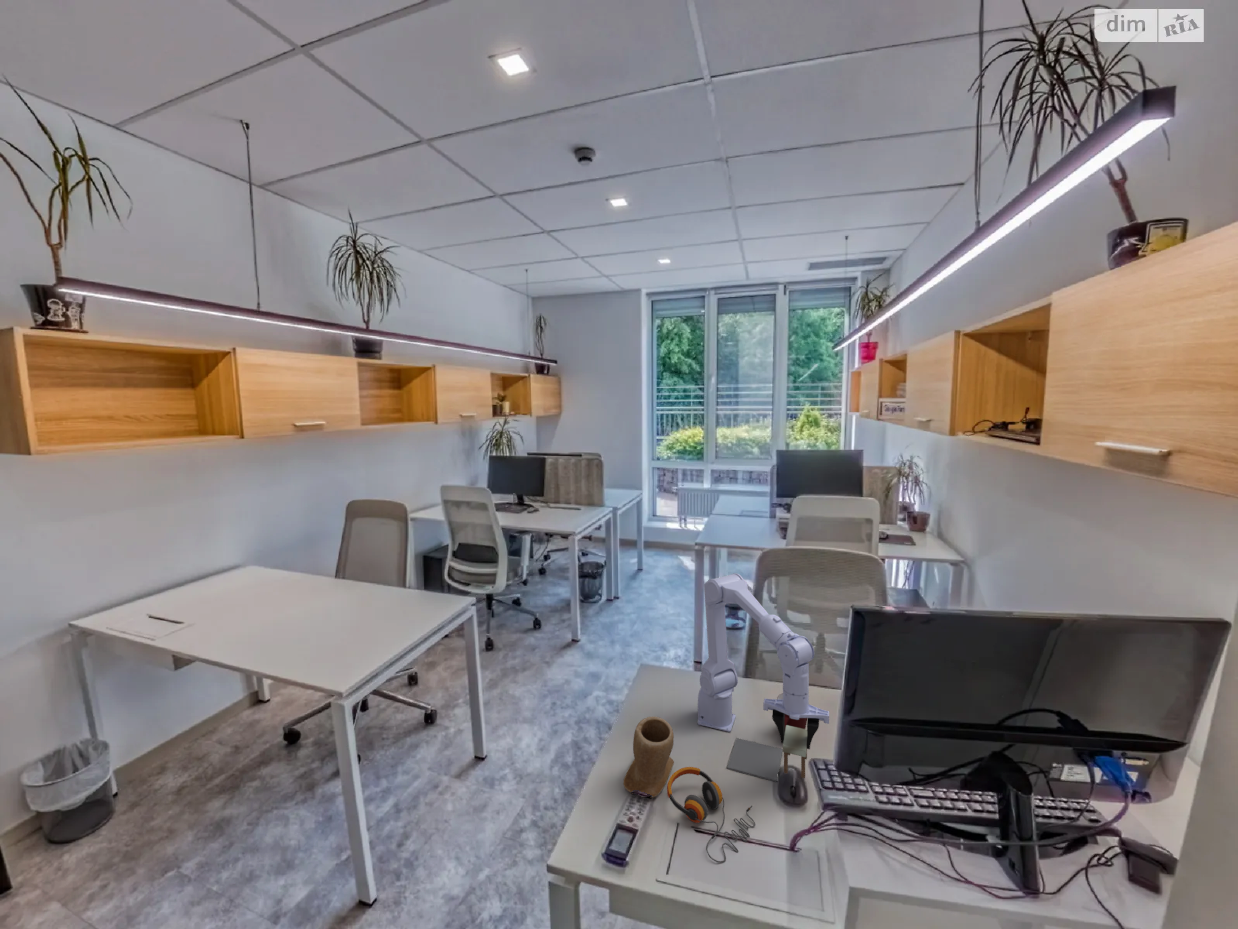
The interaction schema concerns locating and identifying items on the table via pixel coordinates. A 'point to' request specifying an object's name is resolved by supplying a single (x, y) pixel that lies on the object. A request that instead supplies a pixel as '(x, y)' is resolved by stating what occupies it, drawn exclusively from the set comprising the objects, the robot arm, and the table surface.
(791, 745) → the stool
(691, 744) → the table surface
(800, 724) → the mug
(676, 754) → the table surface
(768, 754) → the mat
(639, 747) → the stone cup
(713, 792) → the headphones
